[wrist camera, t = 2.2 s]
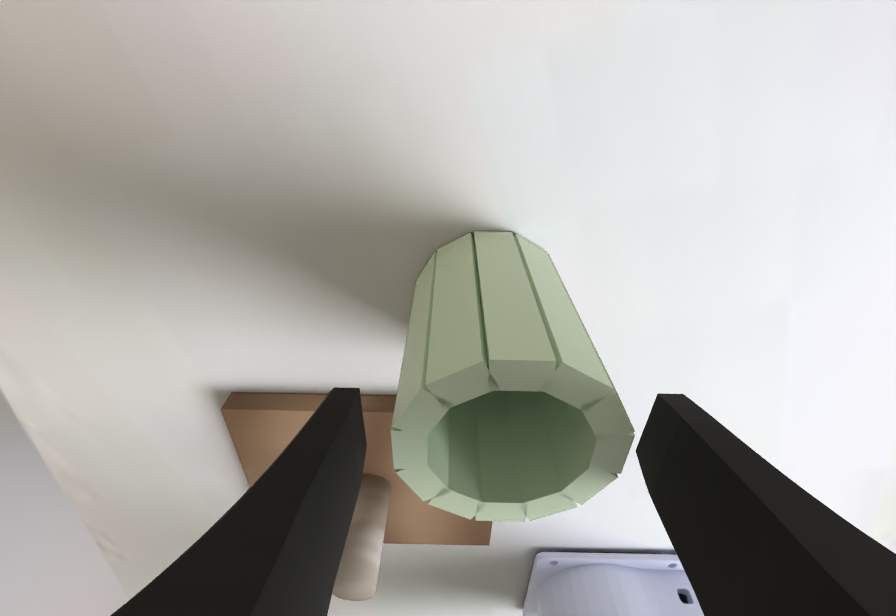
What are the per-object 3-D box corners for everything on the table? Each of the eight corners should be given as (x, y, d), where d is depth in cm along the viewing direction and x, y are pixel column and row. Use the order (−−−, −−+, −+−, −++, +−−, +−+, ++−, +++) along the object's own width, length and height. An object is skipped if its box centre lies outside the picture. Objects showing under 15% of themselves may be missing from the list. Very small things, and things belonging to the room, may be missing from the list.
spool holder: (502, 398, 18) (520, 517, 13) (487, 527, 23) (496, 646, 18) (231, 392, 18) (152, 510, 13) (277, 523, 23) (232, 640, 18)
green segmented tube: (572, 232, 14) (661, 362, 8) (548, 357, 17) (602, 523, 11) (414, 230, 14) (384, 357, 8) (417, 355, 17) (398, 519, 11)
